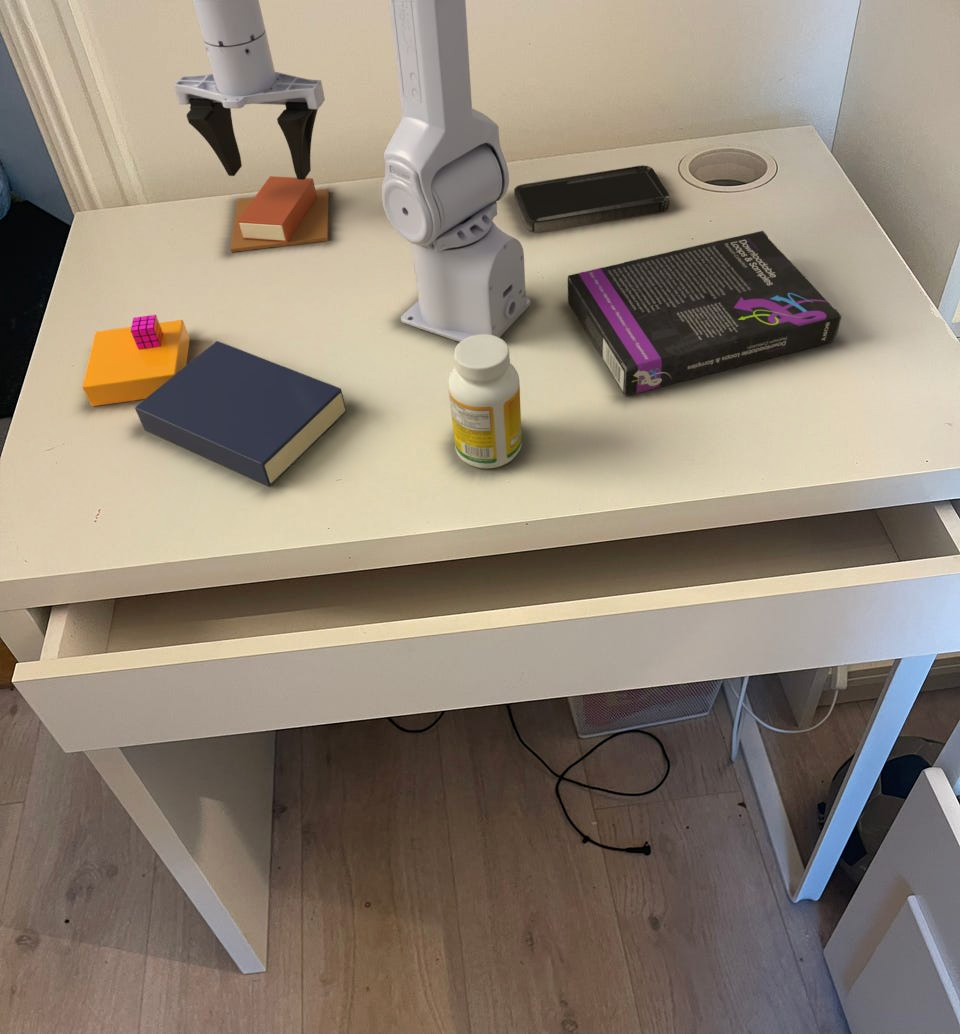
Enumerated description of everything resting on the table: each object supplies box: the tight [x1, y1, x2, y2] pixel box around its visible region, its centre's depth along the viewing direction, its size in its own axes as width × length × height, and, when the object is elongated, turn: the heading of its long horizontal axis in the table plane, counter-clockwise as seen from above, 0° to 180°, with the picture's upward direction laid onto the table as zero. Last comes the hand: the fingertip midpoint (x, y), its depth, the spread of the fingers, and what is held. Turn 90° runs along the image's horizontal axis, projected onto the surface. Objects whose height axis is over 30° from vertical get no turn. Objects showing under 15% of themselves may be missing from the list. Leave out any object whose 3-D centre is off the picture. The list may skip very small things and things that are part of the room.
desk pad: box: [230, 188, 329, 253], centre depth 101 cm, size 10×10×1 cm
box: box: [567, 230, 843, 397], centre depth 83 cm, size 14×4×20 cm
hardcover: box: [134, 340, 347, 488], centre depth 79 cm, size 14×10×3 cm
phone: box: [513, 164, 671, 233], centre depth 99 cm, size 8×1×15 cm
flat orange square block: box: [82, 314, 191, 407], centre depth 84 cm, size 8×8×4 cm
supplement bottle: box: [447, 334, 523, 469], centre depth 72 cm, size 5×5×10 cm
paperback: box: [238, 175, 317, 242], centre depth 100 cm, size 9×5×2 cm, turn 167°
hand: (269, 172), depth 97 cm, fingers open, 7 cm apart
